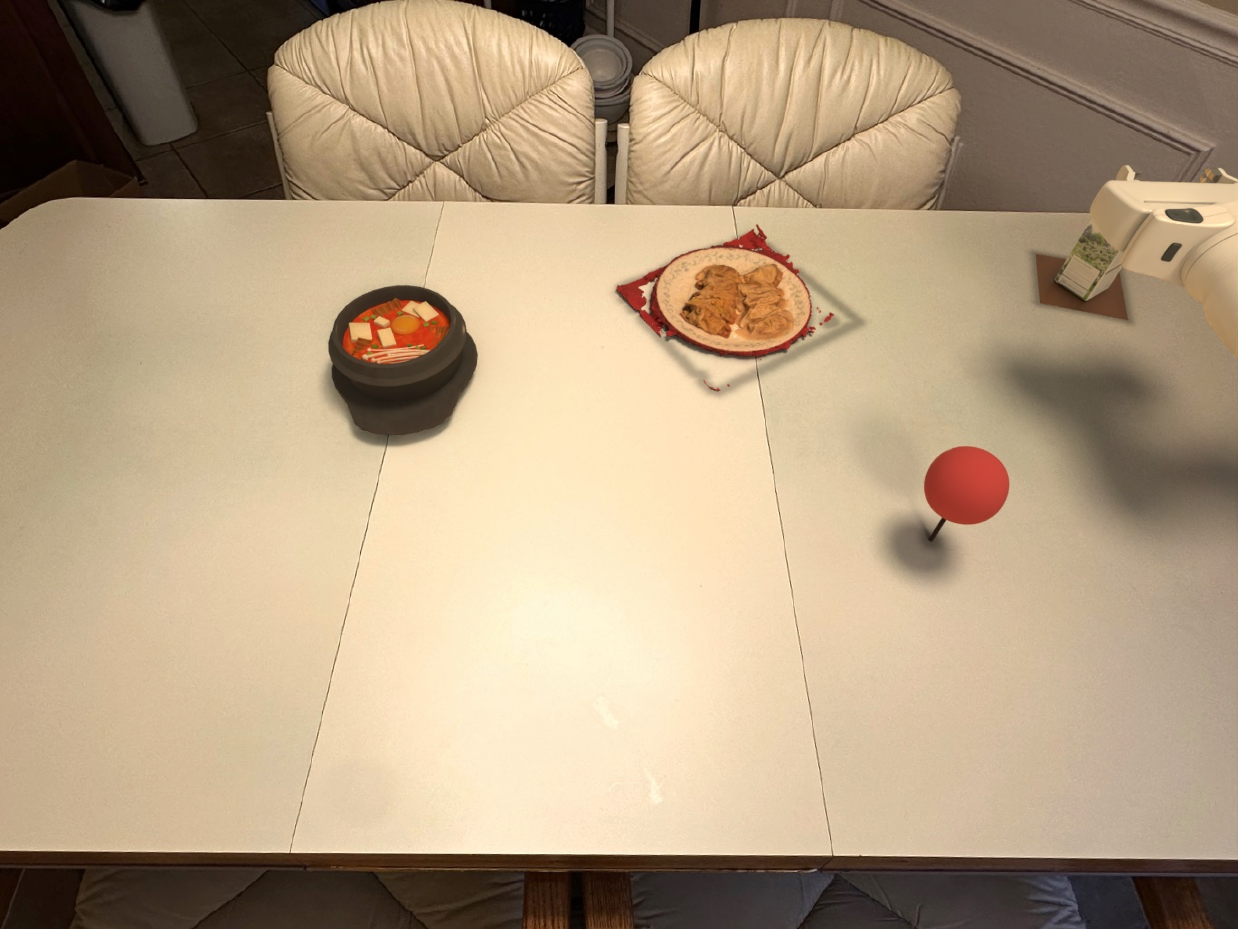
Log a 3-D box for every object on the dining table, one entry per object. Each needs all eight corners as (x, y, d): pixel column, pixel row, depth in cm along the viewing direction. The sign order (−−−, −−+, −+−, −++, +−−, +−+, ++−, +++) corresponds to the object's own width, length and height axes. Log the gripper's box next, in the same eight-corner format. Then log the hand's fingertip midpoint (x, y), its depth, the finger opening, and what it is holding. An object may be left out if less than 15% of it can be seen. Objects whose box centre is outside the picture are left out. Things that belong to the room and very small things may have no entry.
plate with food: (614, 296, 108) (614, 277, 105) (752, 236, 116) (755, 217, 114) (713, 400, 96) (716, 382, 94) (858, 326, 105) (865, 307, 102)
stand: (1115, 274, 113) (1118, 268, 113) (1124, 325, 106) (1128, 319, 105) (1033, 258, 115) (1036, 253, 114) (1036, 308, 108) (1040, 302, 107)
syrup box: (1109, 288, 110) (1169, 201, 98) (1084, 303, 107) (1142, 215, 96) (1075, 268, 112) (1130, 181, 101) (1051, 281, 110) (1103, 194, 99)
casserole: (483, 437, 91) (473, 390, 85) (327, 452, 89) (305, 406, 83) (476, 303, 106) (468, 254, 99) (343, 314, 104) (325, 265, 98)
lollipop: (967, 530, 84) (1027, 448, 73) (954, 584, 80) (1016, 506, 68) (900, 505, 86) (948, 421, 74) (884, 556, 82) (933, 476, 70)
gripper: (1350, 223, 73) (1279, 148, 82) (1142, 217, 73) (1092, 143, 82) (1302, 275, 78) (1240, 199, 87) (1108, 269, 78) (1064, 194, 87)
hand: (1167, 172), depth 84 cm, fingers open, 8 cm apart
